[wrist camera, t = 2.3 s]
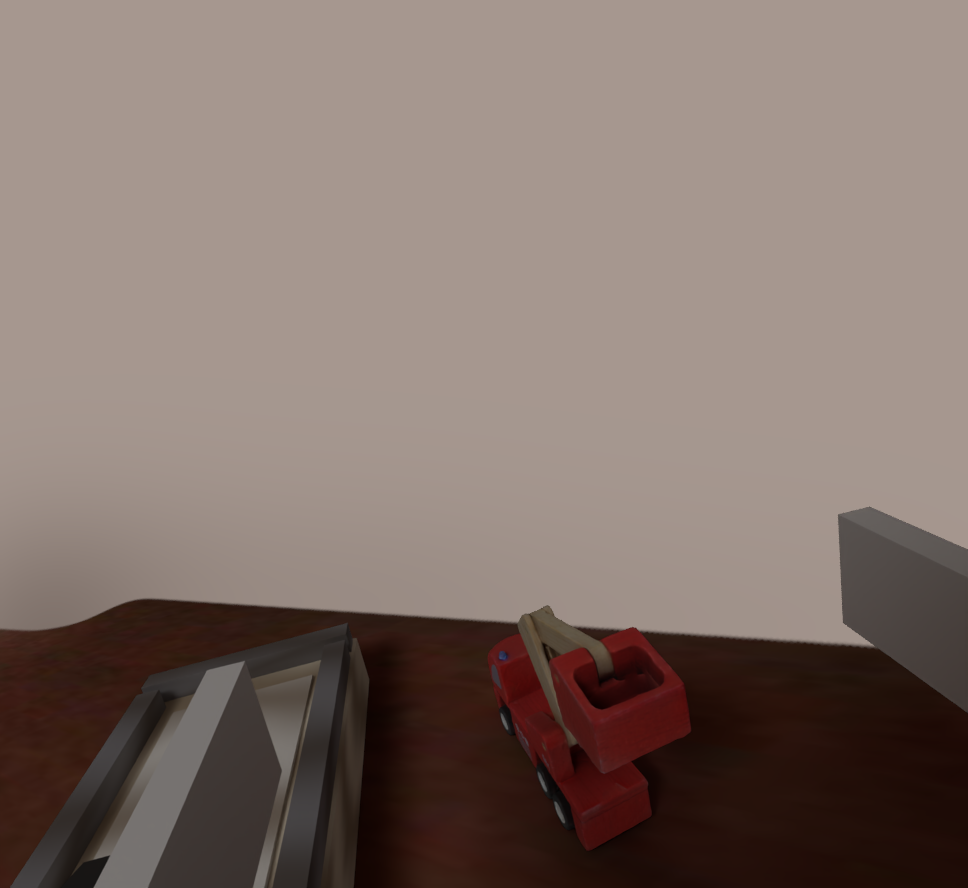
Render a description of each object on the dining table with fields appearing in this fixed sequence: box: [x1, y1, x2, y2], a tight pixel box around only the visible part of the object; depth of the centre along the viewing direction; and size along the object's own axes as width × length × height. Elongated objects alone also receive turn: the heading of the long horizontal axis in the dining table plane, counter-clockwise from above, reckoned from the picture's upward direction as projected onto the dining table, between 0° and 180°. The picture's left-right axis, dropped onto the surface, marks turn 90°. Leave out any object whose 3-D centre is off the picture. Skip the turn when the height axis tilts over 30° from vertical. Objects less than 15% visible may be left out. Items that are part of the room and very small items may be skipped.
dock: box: [10, 623, 369, 888], centre depth 26 cm, size 20×12×4 cm, turn 9°
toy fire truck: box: [488, 606, 691, 851], centre depth 25 cm, size 3×14×10 cm, turn 20°
